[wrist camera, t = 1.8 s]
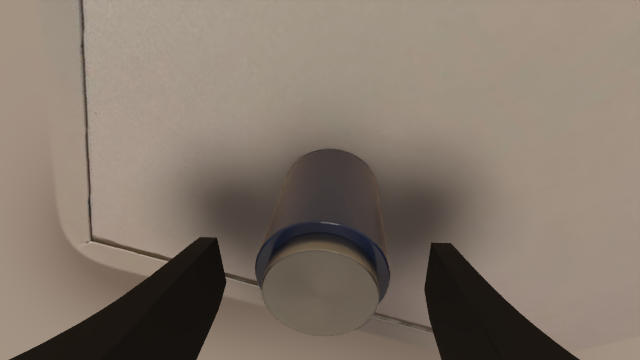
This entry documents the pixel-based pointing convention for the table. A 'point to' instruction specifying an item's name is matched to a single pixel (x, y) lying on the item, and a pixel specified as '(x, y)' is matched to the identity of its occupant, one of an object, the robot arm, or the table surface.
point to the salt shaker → (325, 246)
